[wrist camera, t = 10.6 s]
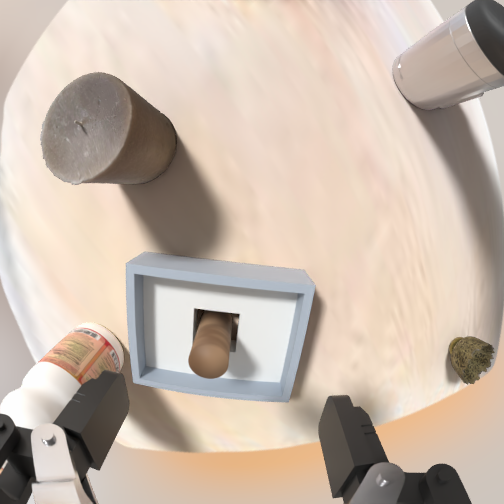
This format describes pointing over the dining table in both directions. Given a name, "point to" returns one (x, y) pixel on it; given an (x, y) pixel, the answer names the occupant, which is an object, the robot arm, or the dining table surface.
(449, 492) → the robot arm
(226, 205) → the dining table surface
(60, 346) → the fruit juice
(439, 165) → the dining table surface
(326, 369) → the dining table surface
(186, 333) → the box
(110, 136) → the pillar candle
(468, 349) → the mottled brown rounded lump
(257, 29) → the dining table surface
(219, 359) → the peg
